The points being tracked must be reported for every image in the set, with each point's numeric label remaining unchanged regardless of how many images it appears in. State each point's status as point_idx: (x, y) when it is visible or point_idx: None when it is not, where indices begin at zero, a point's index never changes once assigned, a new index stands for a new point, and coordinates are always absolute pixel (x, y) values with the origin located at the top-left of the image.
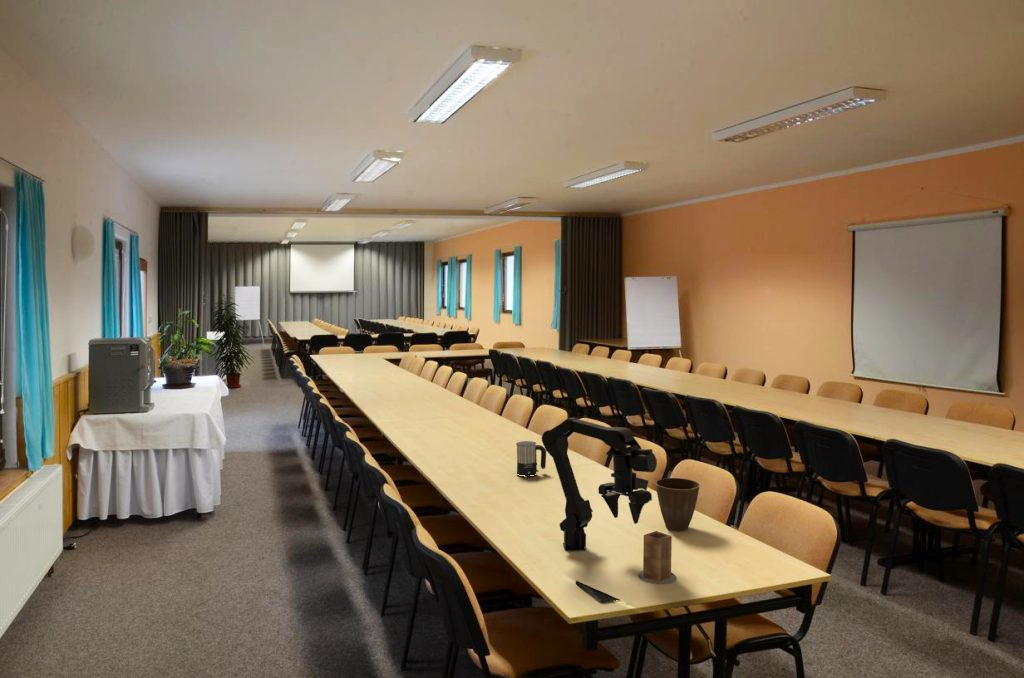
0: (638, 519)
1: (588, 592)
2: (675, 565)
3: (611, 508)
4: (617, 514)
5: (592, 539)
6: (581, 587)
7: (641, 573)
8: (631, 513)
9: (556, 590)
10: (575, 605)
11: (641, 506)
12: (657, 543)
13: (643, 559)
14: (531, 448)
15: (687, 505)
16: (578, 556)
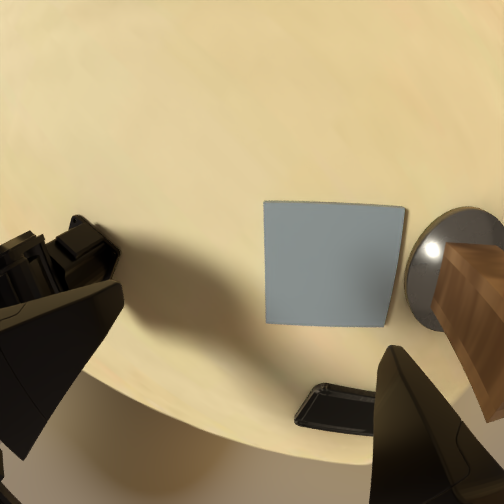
0: (418, 371)
1: (353, 432)
2: (440, 102)
3: (76, 377)
4: (106, 296)
5: (63, 155)
6: (324, 428)
7: (417, 296)
8: (376, 477)
9: (292, 446)
10: (359, 454)
11: (491, 492)
12: None
13: (451, 343)
14: None
15: None
16: (150, 301)
